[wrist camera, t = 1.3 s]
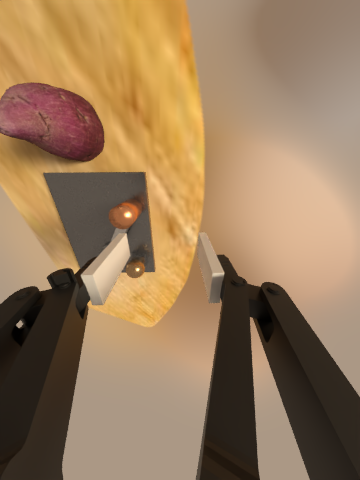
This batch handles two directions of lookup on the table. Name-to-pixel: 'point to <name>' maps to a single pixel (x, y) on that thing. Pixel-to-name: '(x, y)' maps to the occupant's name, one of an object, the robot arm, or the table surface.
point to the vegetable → (52, 120)
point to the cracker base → (103, 214)
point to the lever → (124, 216)
